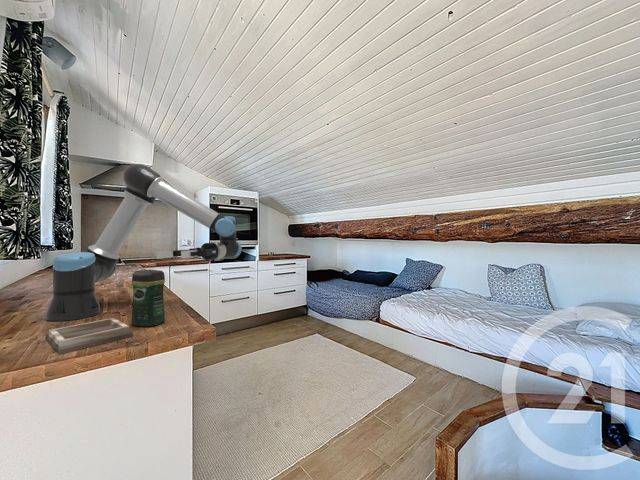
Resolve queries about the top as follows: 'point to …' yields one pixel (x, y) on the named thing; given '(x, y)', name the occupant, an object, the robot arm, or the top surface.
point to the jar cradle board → (87, 335)
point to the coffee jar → (148, 297)
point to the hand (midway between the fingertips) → (168, 255)
